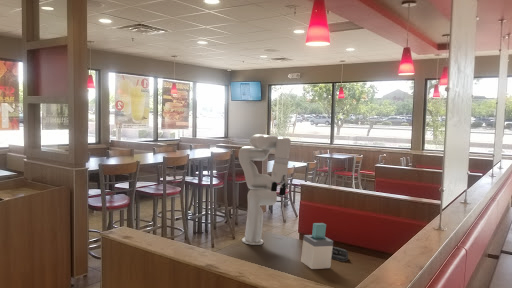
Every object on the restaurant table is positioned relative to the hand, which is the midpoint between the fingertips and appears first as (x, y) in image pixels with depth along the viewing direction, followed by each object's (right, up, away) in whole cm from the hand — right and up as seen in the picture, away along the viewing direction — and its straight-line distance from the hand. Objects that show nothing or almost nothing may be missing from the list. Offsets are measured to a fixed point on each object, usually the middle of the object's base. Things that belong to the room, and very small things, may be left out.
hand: (277, 193), depth 209 cm
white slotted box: (+19, -37, -3) cm, 42 cm away
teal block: (+20, -25, -4) cm, 33 cm away
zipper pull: (+28, -37, +16) cm, 49 cm away
